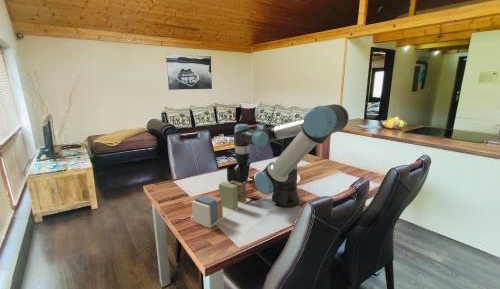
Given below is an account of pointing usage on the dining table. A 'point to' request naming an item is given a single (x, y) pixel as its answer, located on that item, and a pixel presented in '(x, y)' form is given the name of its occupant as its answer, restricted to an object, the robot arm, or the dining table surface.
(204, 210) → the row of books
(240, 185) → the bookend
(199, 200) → the book navy
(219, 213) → the book rust
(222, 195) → the book olive
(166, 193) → the dining table surface
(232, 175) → the mug
